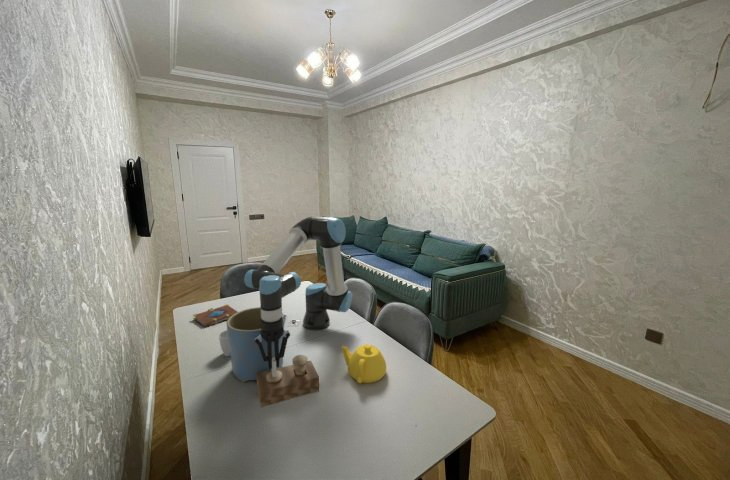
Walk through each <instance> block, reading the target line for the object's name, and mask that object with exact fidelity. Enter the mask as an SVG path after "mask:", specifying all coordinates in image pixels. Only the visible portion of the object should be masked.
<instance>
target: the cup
mask: <svg viewBox="0 0 730 480" xmlns="http://www.w3.org/2000/svg"><path fill="white" fill-rule="evenodd" d="M218 338H219V344H220V348H221V351H222V353H223V355H224V356H225V357H231V356H230V349H229V342H228V333H227V329H226V330H223V331H221V332H220V333H219V334H218Z"/></svg>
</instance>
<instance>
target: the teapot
mask: <svg viewBox="0 0 730 480" xmlns="http://www.w3.org/2000/svg"><path fill="white" fill-rule="evenodd" d="M341 351H342V354H343V357H344V361H345V365H346V366H347V371H348V373H349V376H351V378H352V379H354V380H355V381H356V382H357V383H358V384H373V383H376V382H378V381H379V380H381V379H382V378H384V376H385V374H386V372H387V364H386V359H385V357H384V355H383V354H382V351H381V350H380V349H379V348H378V347H377V346H375V345H372V344H361V345H359V346H358V347H357V348H355V350H354V351H353V353H351V351H350V349H349V348H348V347H347V346H345V345H342V346H341ZM362 382H363V383H362ZM372 382H373V383H372Z"/></svg>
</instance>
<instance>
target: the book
mask: <svg viewBox="0 0 730 480" xmlns="http://www.w3.org/2000/svg"><path fill="white" fill-rule="evenodd" d="M237 312H238V310H235V309H234V308H233V307H232V306H230V305H229V304H224V305H222V306H219V307H216V308H213V307H211V308H208V309H207V310H206V311H203V312H200V313H195V314H192V317H193V318H192V319H193V321H196V322H197V323H198V324H199V325H201V326H202V327H203V328H207V327H210V326H213V325H217V324H219V323H221V322H224V321H227V320H228V318H229V317H231V316H232V315H233V314H235V313H237Z"/></svg>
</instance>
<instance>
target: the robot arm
mask: <svg viewBox="0 0 730 480" xmlns="http://www.w3.org/2000/svg"><path fill="white" fill-rule="evenodd" d="M346 230H347V229H346V226H345V223H344V221H342V220H341V219H340V218H337V217H331V216H330V217H326V216H313V215H312V216H308V217H305V218H304V219H303V218H302V220H300V221H299V222H297V223H295V224H294V225H293V226H292V227H291V228H290V229H289V232H288V235H287V236H286V237H285V238H284V239H283V240H282V241H281V243H279V245H278V246H277V247H276V248H275V249H274V250H273V251H272V253H271V254H270V255H269V256H268V257H267V258H266V259H265V260H264V261H263V263H262V264H261V265H260V266H259V267H258V268H257V269H255V268H254V269H249V270H247V272H246V273H245V275H244V278H243V280H244V284H245V286H246V287H248V288H250V289H253V290H258V291H259V302H260V306H259V307H261V329H262V330H261V332H260V335H259V336H258V337H255V338H254V339H255V342H256V343H257V344H258V346H259V349H260V352H261V354H262V357H263V360H264V361H268V366H269V369H271V370H272V376H273V377H276V376H277V370H276V367H279V359H280V358H283V359H284V357H285V352H286V348H287V343H288V340H289V338H290V336H291V332H290V331H289V330H285V329H283V323H282V313H283V307H282V306H283V303H282V301H283V298H285V297H286V296H287V295H289V294H291V293H294V292H295V291H297V290H298V289H299V288H300V286H301V284H302V280H301V276H300V275H299V274H298V273H296V272H295V271H291V272H286V273H279V272H280V271H281V270H282V269H283V268H284V266H285V265H287V262H288V261H289V260H290V259H292V257H293V255H294V254H295V253H296V252H297V251H298V250H299V248H300V247H301V246H302V245H305V244H306V243H307V242H308V241H318V245H319V247H320V248H321V249H322V251H323V253H322V254H323V259H324V266H325V274H326V281H327V284H326V283H323V282H317V283H312V284H309V285H308V286H307V287H305V294H304V295H305V313H304V316H303V320H302V325H303V327H304V328H305V329H307V330H313V331H314V330H316V331H317V330H323V329H326V328H327V327H328V326H330V323H331V319H330V315H329V313H328V311H327V310H329V311H333V312H337V313H338V312H339V313H346V312H348V311H349V309H350V308H351V305H352V303H353V302H352V301H353V292H352V291H350V290H349V289H348V285H347V284H345V280H344V270H343V263H342V262H343V261H342V254H341V245H342V244H343V242H344V241H345V239H346V234H347V231H346ZM282 334H283V340H282V344H281V349H280V353H279V339H280V337H281V336H282ZM261 338H263V339H264V340H265V341H266V342H267V350H268V356H266V354H265V351H264V349H263V346H262V343H261V341H262V339H261ZM272 342H274V348H275V357H274V358H272V346H271V345H272Z"/></svg>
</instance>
